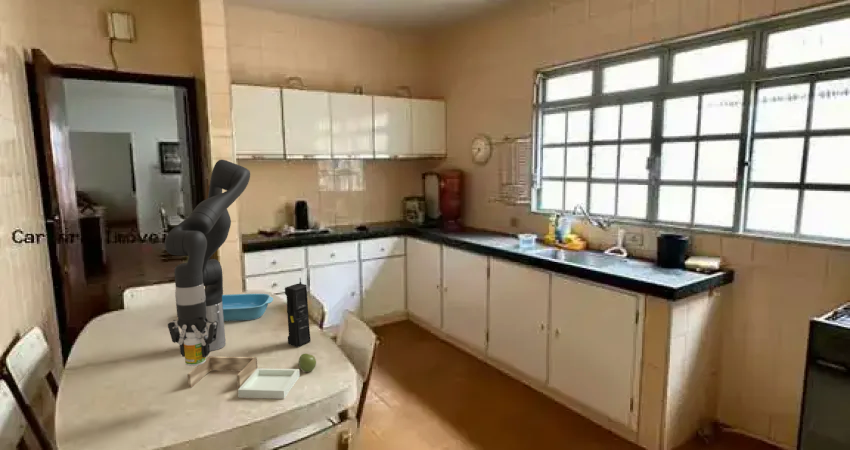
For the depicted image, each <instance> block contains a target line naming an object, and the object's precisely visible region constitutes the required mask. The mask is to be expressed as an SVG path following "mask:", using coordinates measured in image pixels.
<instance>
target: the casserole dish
mask: <svg viewBox="0 0 850 450" xmlns="http://www.w3.org/2000/svg"><path fill="white" fill-rule="evenodd" d="M273 301H274V297H272V296H271V295H270V294H268V293H241V294H240V293H237V294H234V293H233V294H223V295H222V304H223V316H224V322H238V321H239V322H241V321H242V322H243V321H251V320H257V319H260V317H262V316H263V315H264V314H265V312H266V310H267V308H268V306H269V304H271V303H272V302H273Z"/></svg>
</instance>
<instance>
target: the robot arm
mask: <svg viewBox="0 0 850 450" xmlns="http://www.w3.org/2000/svg"><path fill="white" fill-rule="evenodd" d="M212 168H213V169H212V172H211V175H210V180H209V181H210V182H209V188H208V193H207V194H208V195H207V198H206V199H204V200H202V201H201V202H199V203H198V204H197V205H196V207H195V208H194V209H193V210H192V212H191V213H190V214H189V216H188V217H187V218H186V219H184V220H182V221H181V222H180V223H178V224H177V225H175V226H174V227H173V228H172V229H171V230H170V231H169V232H168V233H167V235H166V237H165V238H164V239H165V240H164V249H165V250H166V252H167V253H168V254H170V255H171V256H180V257H181V256H182V257H183V256H185V257H187V256H188V260H187V262H184V263H180V264H177V265H176V266H175V267H174V282H175V284H174V285H175V292H174V293H175V294H174V295H175V296H174V297H175V306H176V307H175V308H176V315H177V316H176V317H177V318H178V319H177V320H176V319H173V320H171V321H170V322H168V323H167V327H168V332H169V335H170V338H171V341H172V343H174V344H175V343H177V344H178V345H179V353H180V355H181V356H182V357H183V358H185V352H184V340H185V338H187V337H186V332H195V334H196V336H197V338H198V339H199V340H200V341H201V343H202V346H201V348H202V357H206V358H208V357H209V354H210V353H211V352H212V351H217V350H220V349H222V348H224V347H225V346H226V344H227V343H226V331H225V321H224V316H223V304H222V295H224V284H223V283H224V280H223V279H224V276H223V274H224V273H223V268H222V265H221V263H220V262H219V260H218V259H214V258H211V257H212V256H213V255H214V254H215V253H216V252H217V251H218V250H219V249H220V248H221V246H222V245H223V244H224V243H225V242H226V240H227V239H228V236H229V233H230V229H231V225H232V220H231V216H230V213H229V211H228V208H229V207H230V206H232V205H233V203H234V202H235V201H236V200H237V199H238V198H239V197H240V196H241V195H242V194H243V192H244V191H245V190H246V189H247V187H248V185H249V183H250V182H249V181H250V180H251V171H250V170H249V169H248V168H247V167H244V166H242V165H239V164H236V163H234V162H231V161H228V160H226V159H218V160H217V161H216V162H215V164H214V165H213V167H212ZM223 190H224V191H223ZM205 286H206V287H205ZM179 328H180V329H181V330H180V329H179Z"/></svg>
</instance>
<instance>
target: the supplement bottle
mask: <svg viewBox="0 0 850 450" xmlns="http://www.w3.org/2000/svg"><path fill="white" fill-rule="evenodd" d="M186 337H187V338H185V340H184V352H185V357H184V360H185V365H186V366H188V367H197V366H198V365H201V364H203V363H204V362H205V361H206V358H207V357H202V348H201V346H202V343H201V341H200V340H199V339H198V338H197V336H196V334H195V332H186Z"/></svg>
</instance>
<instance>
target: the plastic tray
mask: <svg viewBox="0 0 850 450" xmlns="http://www.w3.org/2000/svg"><path fill="white" fill-rule="evenodd" d="M300 377H301V376H300V369H299V368H263V367H261V368H259V367H257V369H256V370H255V371H254V373H253V374H252V375H251V376H250V377H249V378H248V379H247V380H246V381H245V382H244V384H243V385H242V386H241V387H240V388H239V389H238V388H237V394H238V395H237V396H238V398H243V399H244V398H245V399H247V398H248V399H283V400H284V399H286V397H287V395H288V394H289V393H290V391H291V390H292V388H293V387H294V385H295V384H296V383H297V381H298V379H300Z"/></svg>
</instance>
